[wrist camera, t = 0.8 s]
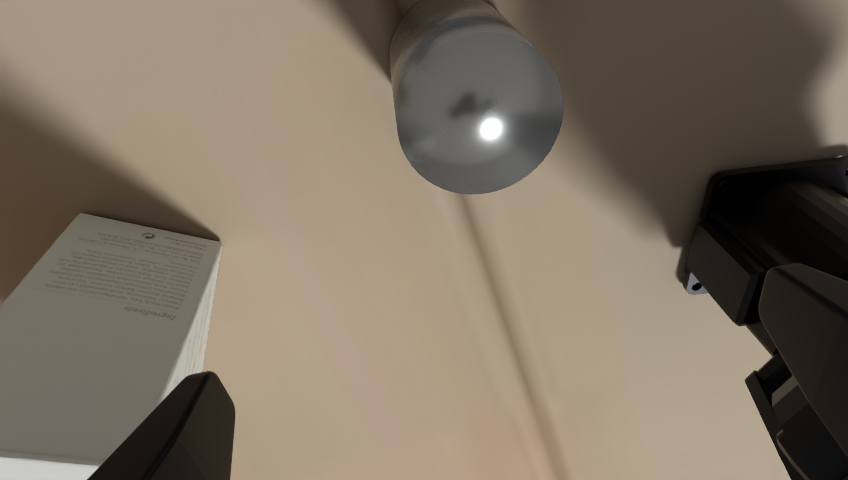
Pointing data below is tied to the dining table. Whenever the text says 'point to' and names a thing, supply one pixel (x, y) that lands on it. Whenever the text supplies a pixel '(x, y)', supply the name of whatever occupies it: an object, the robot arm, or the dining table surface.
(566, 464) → the dining table surface
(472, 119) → the cylinder
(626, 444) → the dining table surface
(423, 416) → the dining table surface
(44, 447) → the small box
